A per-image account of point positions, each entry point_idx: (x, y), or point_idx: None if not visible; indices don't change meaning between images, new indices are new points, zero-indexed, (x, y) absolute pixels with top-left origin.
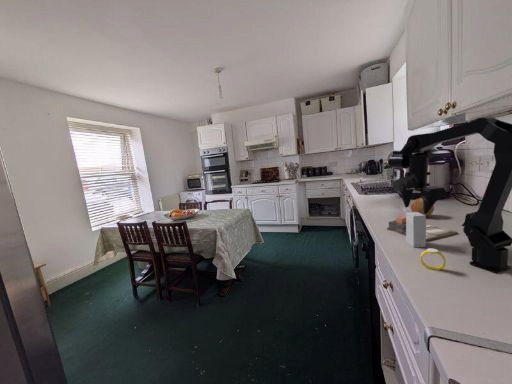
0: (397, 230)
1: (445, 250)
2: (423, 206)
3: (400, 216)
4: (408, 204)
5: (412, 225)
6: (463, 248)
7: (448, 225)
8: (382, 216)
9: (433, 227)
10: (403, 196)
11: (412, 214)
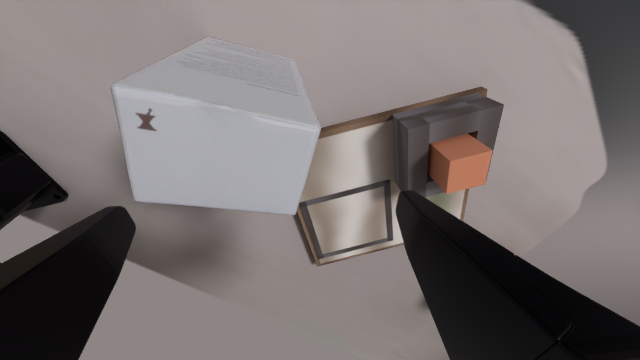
0: (422, 107)
1: None
2: (22, 273)
3: (485, 180)
4: (404, 234)
5: (180, 62)
6: (186, 206)
7: (385, 277)
8: (602, 175)
9: (379, 239)
10: (524, 308)
11: (209, 128)
